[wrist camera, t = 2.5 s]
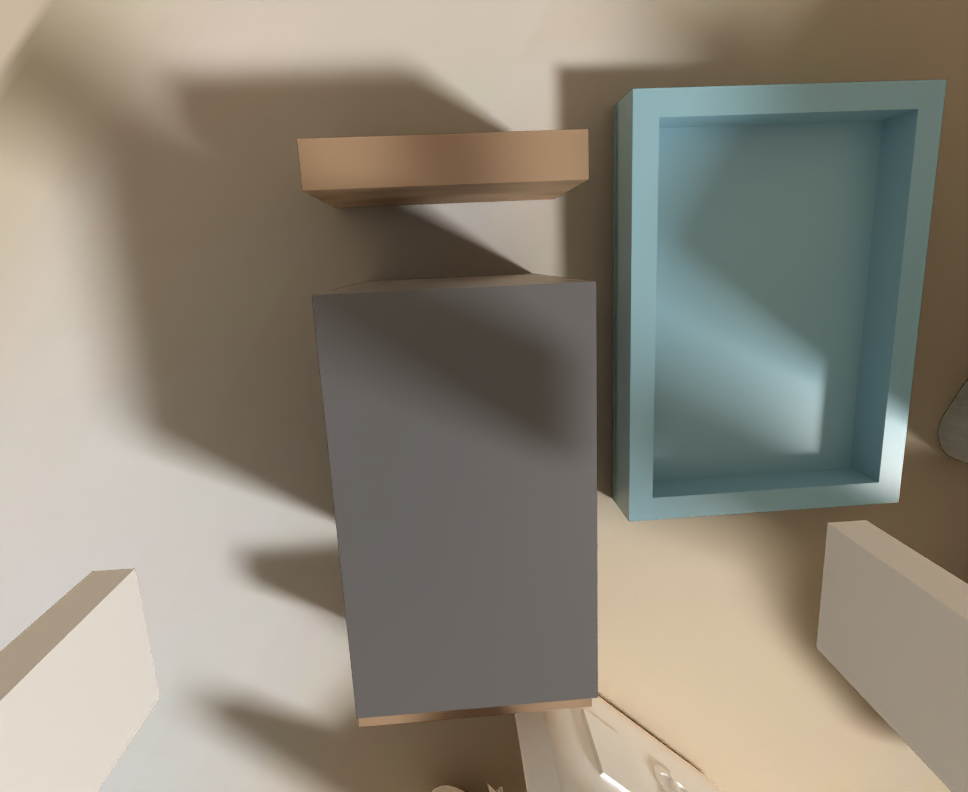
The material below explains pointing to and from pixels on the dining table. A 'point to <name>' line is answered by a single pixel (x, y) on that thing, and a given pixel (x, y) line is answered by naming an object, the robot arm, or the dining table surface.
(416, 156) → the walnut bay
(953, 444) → the hip flask
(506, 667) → the grey rectangular block
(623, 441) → the teal tray
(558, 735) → the cable organizer
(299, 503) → the dining table surface
